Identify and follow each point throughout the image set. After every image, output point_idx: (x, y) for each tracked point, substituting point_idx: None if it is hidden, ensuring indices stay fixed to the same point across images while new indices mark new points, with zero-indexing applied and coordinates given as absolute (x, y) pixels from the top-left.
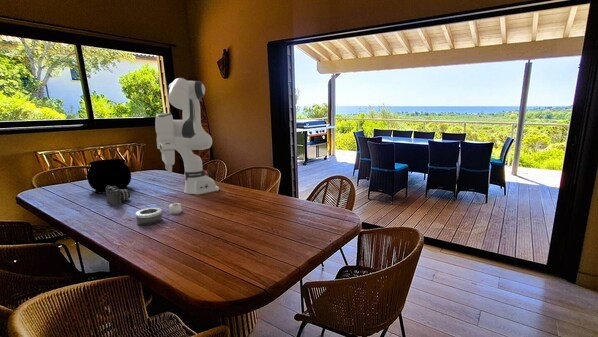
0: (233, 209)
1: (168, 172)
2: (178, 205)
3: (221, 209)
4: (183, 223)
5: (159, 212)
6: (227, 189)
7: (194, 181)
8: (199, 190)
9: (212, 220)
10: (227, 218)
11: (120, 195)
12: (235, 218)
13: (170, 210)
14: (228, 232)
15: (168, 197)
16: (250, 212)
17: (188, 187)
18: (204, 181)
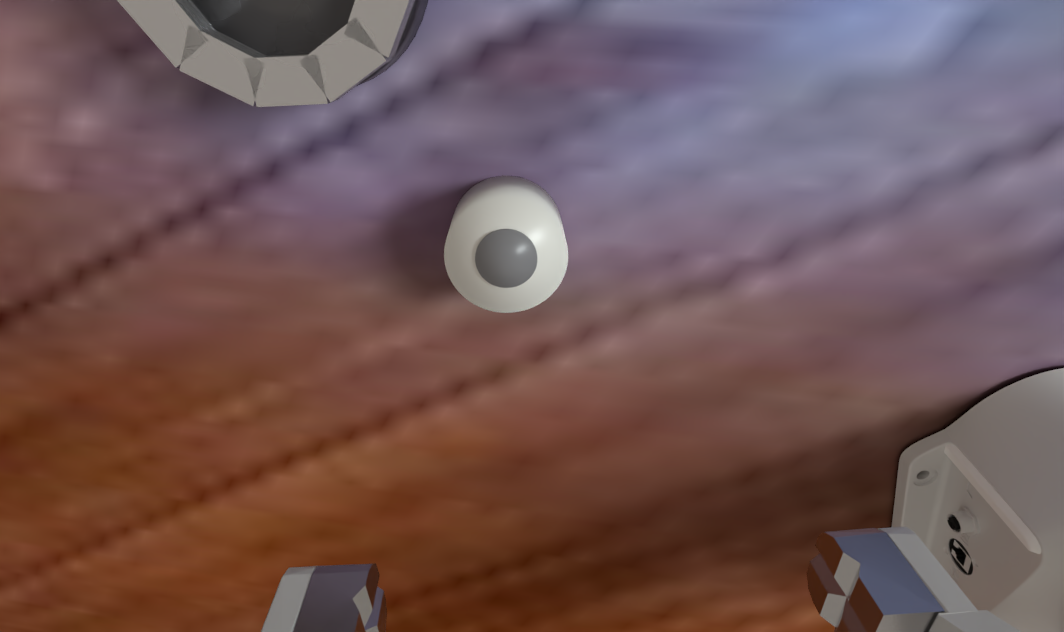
0: None
1: (282, 578)
2: (466, 286)
3: (399, 520)
4: (156, 256)
5: (200, 77)
6: None
7: (1045, 537)
8: (951, 485)
9: (174, 440)
10: (191, 516)
11: None
12: (177, 550)
13: (473, 193)
14: None
15: (1056, 212)
16: None
17: (1058, 437)
18: (1001, 593)
